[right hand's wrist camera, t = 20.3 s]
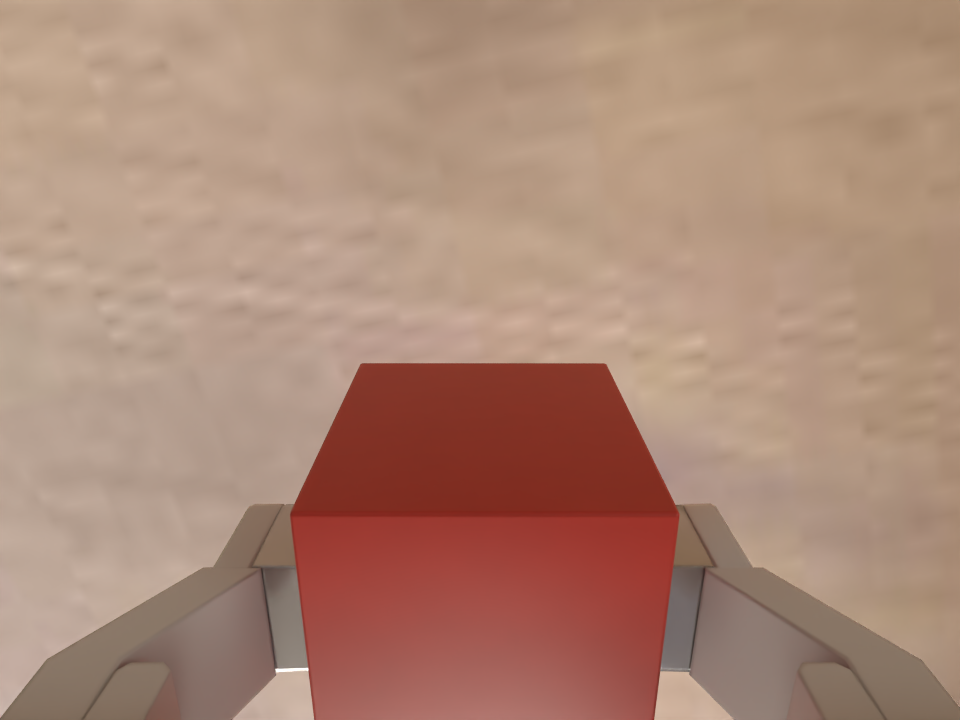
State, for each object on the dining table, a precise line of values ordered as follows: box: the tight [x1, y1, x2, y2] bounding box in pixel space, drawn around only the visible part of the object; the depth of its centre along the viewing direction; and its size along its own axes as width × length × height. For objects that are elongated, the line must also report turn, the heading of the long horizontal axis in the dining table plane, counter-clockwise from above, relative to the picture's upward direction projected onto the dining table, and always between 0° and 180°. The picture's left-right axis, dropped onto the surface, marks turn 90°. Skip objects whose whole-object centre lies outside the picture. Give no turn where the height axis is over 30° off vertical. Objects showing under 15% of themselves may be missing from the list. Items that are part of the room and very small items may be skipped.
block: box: [290, 363, 680, 720], centre depth 10 cm, size 5×4×4 cm
